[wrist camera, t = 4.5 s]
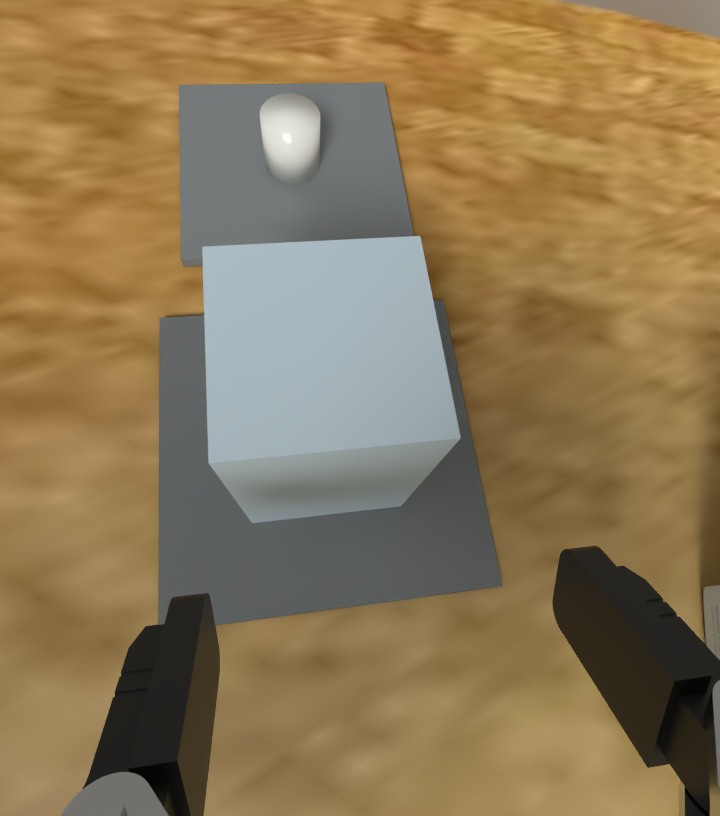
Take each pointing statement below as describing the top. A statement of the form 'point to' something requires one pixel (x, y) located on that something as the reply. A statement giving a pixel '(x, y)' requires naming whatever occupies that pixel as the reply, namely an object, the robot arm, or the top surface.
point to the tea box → (712, 618)
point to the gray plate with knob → (287, 165)
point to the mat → (309, 536)
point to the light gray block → (323, 375)
